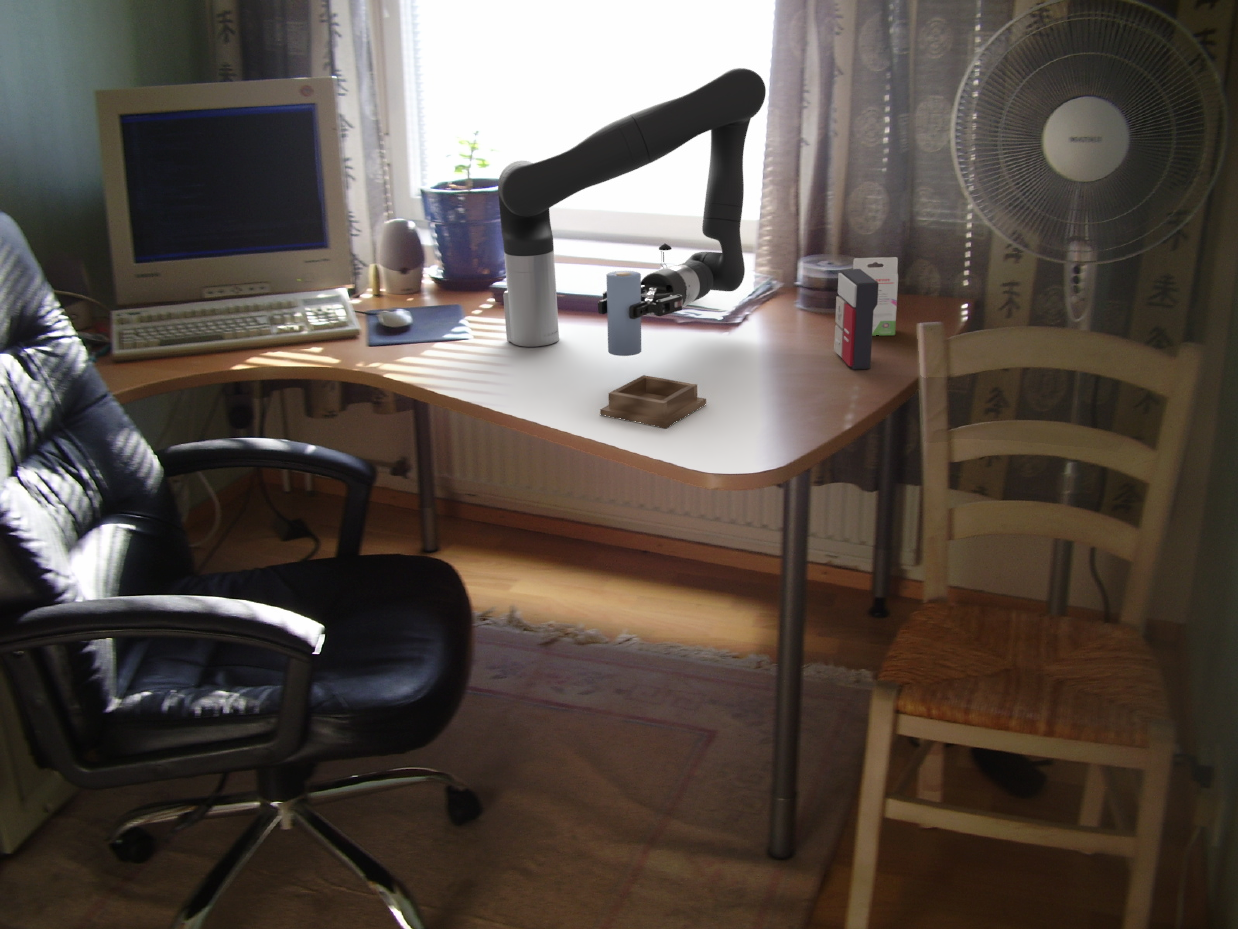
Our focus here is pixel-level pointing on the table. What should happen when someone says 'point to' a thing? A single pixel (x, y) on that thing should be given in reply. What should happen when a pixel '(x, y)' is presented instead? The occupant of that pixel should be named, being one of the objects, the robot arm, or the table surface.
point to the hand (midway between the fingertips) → (615, 310)
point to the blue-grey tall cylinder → (623, 313)
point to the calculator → (855, 317)
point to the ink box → (882, 292)
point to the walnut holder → (653, 401)
